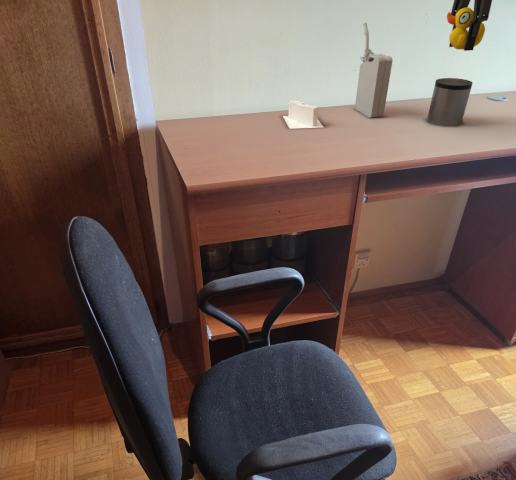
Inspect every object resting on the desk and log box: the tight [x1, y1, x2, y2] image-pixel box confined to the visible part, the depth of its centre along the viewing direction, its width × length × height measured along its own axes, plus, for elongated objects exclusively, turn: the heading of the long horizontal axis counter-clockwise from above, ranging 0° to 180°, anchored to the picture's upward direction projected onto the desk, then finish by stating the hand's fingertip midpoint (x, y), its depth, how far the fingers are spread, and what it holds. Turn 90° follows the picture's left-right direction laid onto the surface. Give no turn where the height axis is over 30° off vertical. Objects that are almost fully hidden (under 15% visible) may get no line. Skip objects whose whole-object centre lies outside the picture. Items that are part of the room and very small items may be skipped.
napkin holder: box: [282, 99, 324, 130], centre depth 147 cm, size 15×11×6 cm
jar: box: [426, 77, 473, 127], centre depth 145 cm, size 11×11×12 cm
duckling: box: [446, 7, 486, 50], centre depth 131 cm, size 11×5×10 cm, turn 76°
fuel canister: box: [354, 22, 394, 119], centre depth 150 cm, size 15×5×25 cm, turn 16°
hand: (460, 48), depth 134 cm, fingers closed on duckling, 6 cm apart
